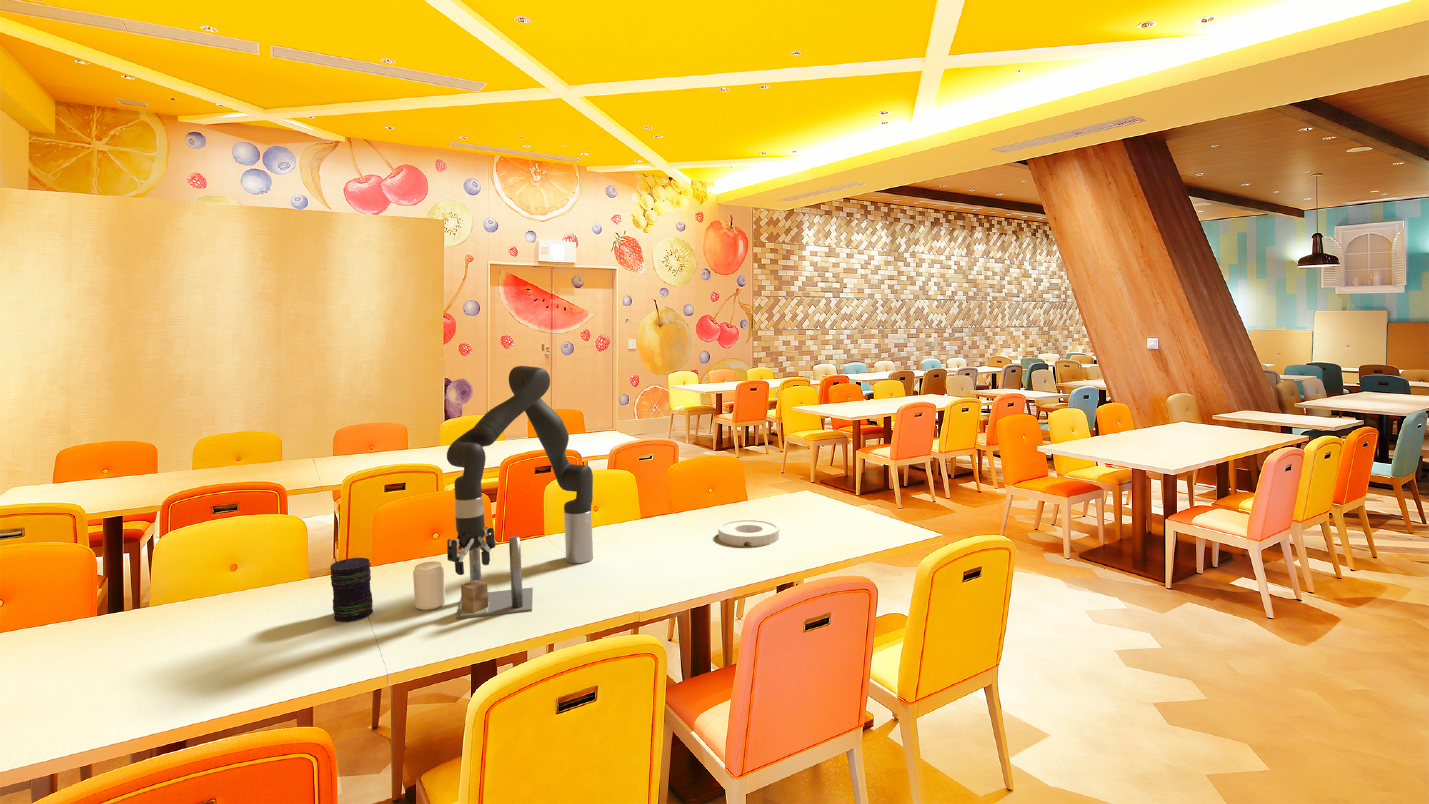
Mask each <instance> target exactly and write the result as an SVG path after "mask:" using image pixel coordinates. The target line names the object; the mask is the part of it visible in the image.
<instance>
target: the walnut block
mask: <svg viewBox="0 0 1429 804" xmlns="http://www.w3.org/2000/svg"><path fill="white" fill-rule="evenodd" d="M488 590H489V588H488V582H487V581H486V582H485V581H482V580H481V581H478V580H474V581H471V582H470V581H468V582H467V583H463V584H461V585H460V596H461V598H460V599H461V601H462V610H465V611H468V612H472V613H475V612H478V611H480V610H482V609H485V608H487V607H488V592H489V591H488Z"/></svg>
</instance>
